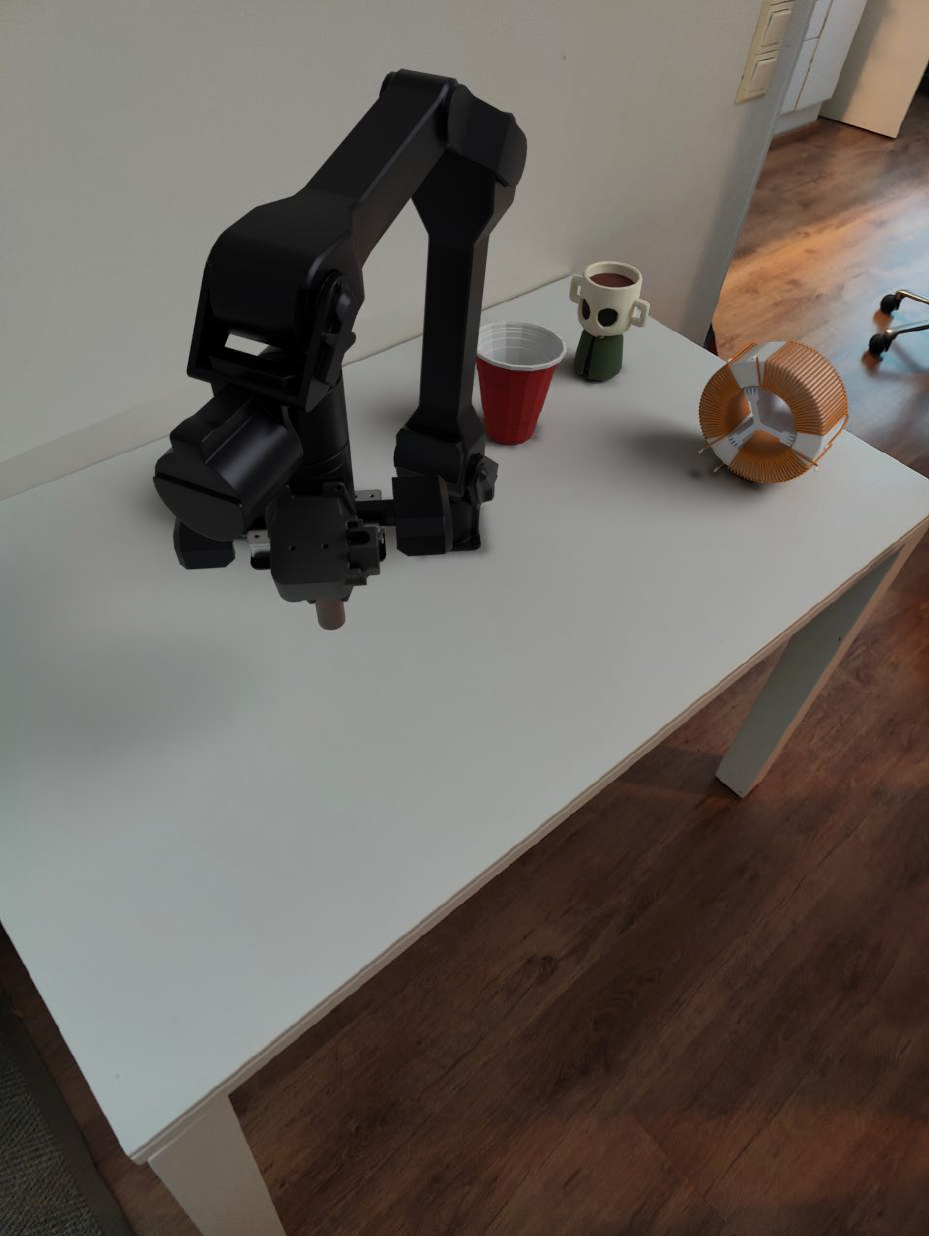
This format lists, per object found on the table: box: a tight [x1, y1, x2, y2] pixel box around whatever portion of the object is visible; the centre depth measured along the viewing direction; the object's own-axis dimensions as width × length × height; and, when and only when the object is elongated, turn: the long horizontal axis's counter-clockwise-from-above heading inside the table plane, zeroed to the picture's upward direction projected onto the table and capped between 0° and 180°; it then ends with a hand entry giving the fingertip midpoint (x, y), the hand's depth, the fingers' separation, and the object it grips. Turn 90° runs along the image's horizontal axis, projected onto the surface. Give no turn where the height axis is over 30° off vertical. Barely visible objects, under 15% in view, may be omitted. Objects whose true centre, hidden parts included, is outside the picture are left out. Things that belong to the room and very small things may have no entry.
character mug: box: [568, 260, 651, 381], centre depth 103 cm, size 11×7×13 cm, turn 53°
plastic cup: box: [475, 319, 568, 446], centre depth 94 cm, size 11×11×12 cm
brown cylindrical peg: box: [314, 599, 347, 631], centre depth 62 cm, size 2×2×9 cm
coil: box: [698, 339, 850, 485], centre depth 90 cm, size 7×15×15 cm, turn 49°
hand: (328, 598), depth 64 cm, fingers closed on brown cylindrical peg, 2 cm apart
